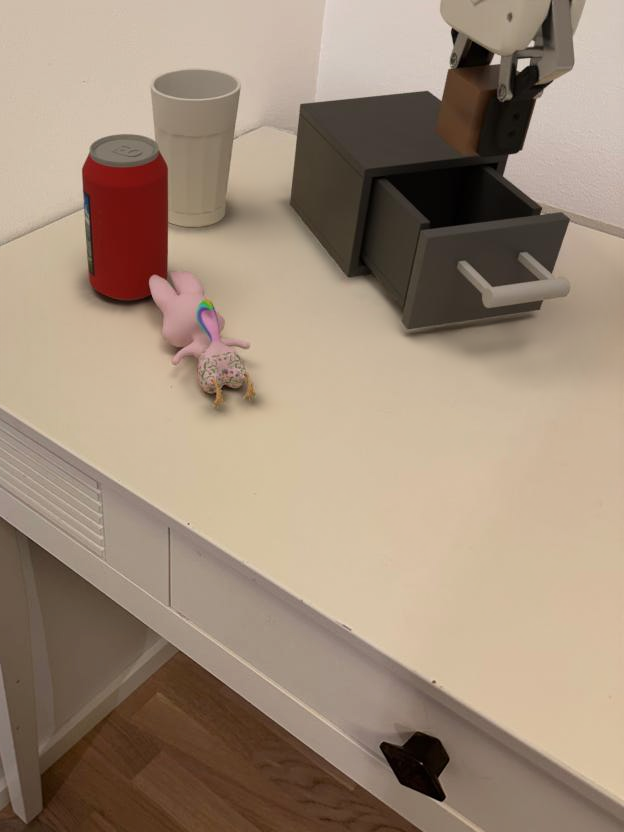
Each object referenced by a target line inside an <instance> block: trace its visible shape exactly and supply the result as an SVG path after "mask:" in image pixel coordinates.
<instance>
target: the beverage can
mask: <svg viewBox="0 0 624 832" xmlns="http://www.w3.org/2000/svg"><path fill="white" fill-rule="evenodd" d="M81 178H82V179H81V180H82V196H83V200H82V201H83V214H84V229H85V242H86V244H85V245H86V256H87V257H86V258H87V259H86V260H87V270H88V279H89V284H90V286H91V287H92V289H94V290H95V291H97V292H98V293H100V294H102V295H104V296H107V297H108V298H110V299H113V300H118V301H128V302H129V301H138V300H141V299H145V298H147V297H149V296H150V295H151V296H152V294H151V290H150V286H149V280H150V278H151V276H153V275H157V276H159V277H162V278H163V279H165V280H167V281H168V271H169V270H168V265H169V264H168V263H169V222H168V167H167V164H166V162H165V160H164V158H163V156H162V155H161V153H160V151H159V146H158V144H157V142H155V139H152V138H150V137H148V136H144V135H141V134H132V133H121V134H120V133H119V134H112V135H107V136H103V137H101V138H98V139H96V140H95V141H94V142H92V143H91V145H90V146H89V152H88V154H87V157H86V159H85V161H84V163H83V165H82V167H81Z"/></svg>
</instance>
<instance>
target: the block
mask: <svg viewBox="0 0 624 832" xmlns="http://www.w3.org/2000/svg"><path fill="white" fill-rule="evenodd" d="M499 70H500V63H498V64H490V65H485V66H475V67H464V68H454V69H451V68H448V69H447V72H446V78H445V83H444V87H443V91H442V97H441V106H440V110H439V115H438V120H437V125H436V129H435V133H436V134H437V135H438V136H439V137H441V138H442V139H443V140H444V141H445V142H447V143H448V144H449V145H450V146H452V147H453V148H454V149H455V150H456V151H458V152H459V153H460V154H461V155H463V156H464V157H468V156H477V155H478V154H477V152H476V151H477V146H478V142H479V138H480V134H481V130H482V126H483V122H484V118H485V114H486V110H487V106H488V101H489V97H497V87H498V79H499ZM520 72H521V71H520V70H517V72H516V75H518V74H519V73H520ZM537 99H538V98H537ZM537 99H535V101H534V104H533V108H532V111H531V115H530V119H529V122H528V126H527V129H526V133H525V136H524V140H523V143H522V147H521V150H520V151H523V149H524V145H525V142H526V138H527V134H528V132H529V127H530V124H531V120H532V117H533V113H534V110H535V107H536V103H537ZM520 151H519V152H520Z"/></svg>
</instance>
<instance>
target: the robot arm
mask: <svg viewBox="0 0 624 832" xmlns="http://www.w3.org/2000/svg"><path fill="white" fill-rule="evenodd" d="M586 1H587V0H440V3H439V13H440V15H441V17H442V20H443V21H444V22H445V23H446V24H447V25H448V26H449V27H450V28H451V29H450V35H451V40H452V45H453V46H452V47H453V48H452V51H451V54H450V57H449V66H450V69H454V68H464V67H475V66H485V65H492V62H493V59H494V57H495V55H497V56H500V62H499V64H500V70H499V79H498V87H497V97H489V101H488V106H487V110H486V114H485V118H484V122H483V126H482V130H481V134H480V138H479V142H478V146H477V151H476V152H477V154H478V155H480V156H481V157H492V156H501V155H509V156H511V155H516V154H518V153H519V152H520V150H521V147H522V143H523V140H524V136H525V133H526V129H527V126H528V122H529V119H530V115H531V111H532V108H533V104H534V101H535V99H540V98H541V97H542V96H543V94H544V90H545V89H546V88H547V87H549V85H551V84H552V83H553V82H554V80H557V79H559V78H561V77H562V76H564V75H566V74H567V73H569V72H571V71H572V70H573V68H574V67H575V51H574V48H575V47H574V37H575V34H576V31H577V29H578V26H579V23H580V20H581V18H582V15H583V11H584V8H585V5H586ZM531 42H534V45H533V46H529V45H530V44H531ZM523 59H529V65H527V66H525V67H524V68H523V69H522V70H521V71H519V72H520V73H519V74H518V75H516V72H517V71H518V63H519V60H523ZM521 151H522V150H521Z"/></svg>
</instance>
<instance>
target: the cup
mask: <svg viewBox="0 0 624 832" xmlns="http://www.w3.org/2000/svg"><path fill="white" fill-rule="evenodd" d="M149 87H150V98H151V107H152V108H151V109H152V117H153V118H152V119H153V129H154V141H155V142H157V144H158V146H159V151H160V153H161V155H162V156H163V158H164V160H165V162H166V164H167V167H168V224H169V223H170V224H172V225H175V226H179V227H186V228H200V227H207V226H211V225H214V224H216V223H218V222H220V221H222V219H223V218H224V217H225V216H226V207H227V193H228V185H229V178H230V171H231V162H232V154H233V146H234V138H235V131H236V130H235V129H236V123H237V118H238V117H237V115H238V109H239V102H240V96H241V89H242V83H241V80H240V79H239V78H238V77H237V76H235V75H233V74H231V73H229V72H225V71H222V70H217V69H210V68H200V67H199V68H195V67H193V68H181V69H174V70H169V71H166V72H164V73H161V74H159V75H156V76H155V77H153V79H151V81H150V85H149Z"/></svg>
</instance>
